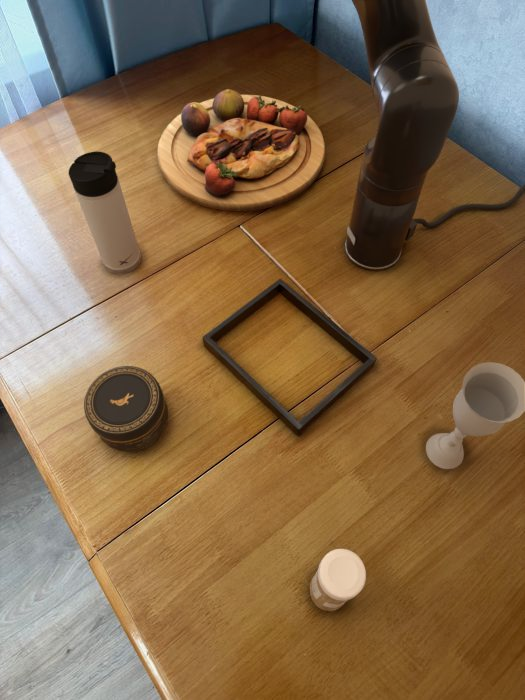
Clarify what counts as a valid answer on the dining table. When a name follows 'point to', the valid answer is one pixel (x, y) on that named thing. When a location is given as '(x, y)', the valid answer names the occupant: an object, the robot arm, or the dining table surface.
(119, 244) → the travel mug
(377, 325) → the dining table surface
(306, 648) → the dining table surface
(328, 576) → the sprinkles bottle
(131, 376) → the jar
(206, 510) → the dining table surface
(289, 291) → the picture frame
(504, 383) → the chalice
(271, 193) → the wooden plate
